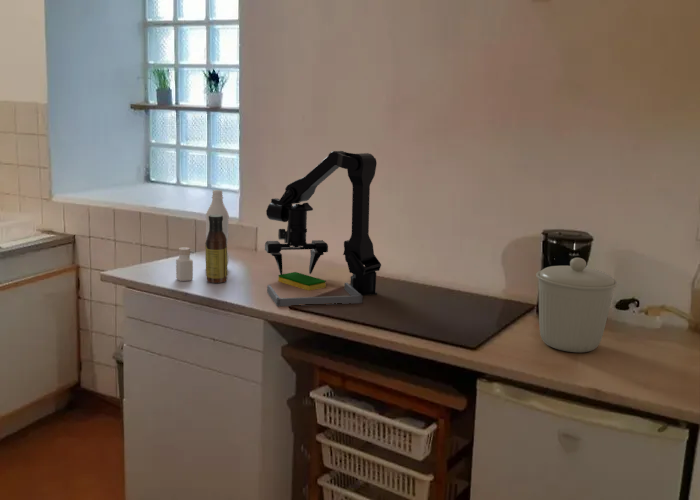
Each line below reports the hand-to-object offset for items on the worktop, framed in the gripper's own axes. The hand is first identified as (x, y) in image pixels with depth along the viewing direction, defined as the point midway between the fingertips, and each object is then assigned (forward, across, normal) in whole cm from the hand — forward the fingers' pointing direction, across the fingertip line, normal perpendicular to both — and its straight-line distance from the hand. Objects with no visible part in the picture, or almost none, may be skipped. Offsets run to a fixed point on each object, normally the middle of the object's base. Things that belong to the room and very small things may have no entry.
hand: (295, 274), depth 221 cm
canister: (+1, -49, +72) cm, 88 cm away
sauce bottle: (+1, +24, +2) cm, 25 cm away
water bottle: (+1, +22, -14) cm, 26 cm away
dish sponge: (+2, 0, +8) cm, 9 cm away
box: (+1, 0, +23) cm, 23 cm away
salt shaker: (+1, +34, -1) cm, 34 cm away
